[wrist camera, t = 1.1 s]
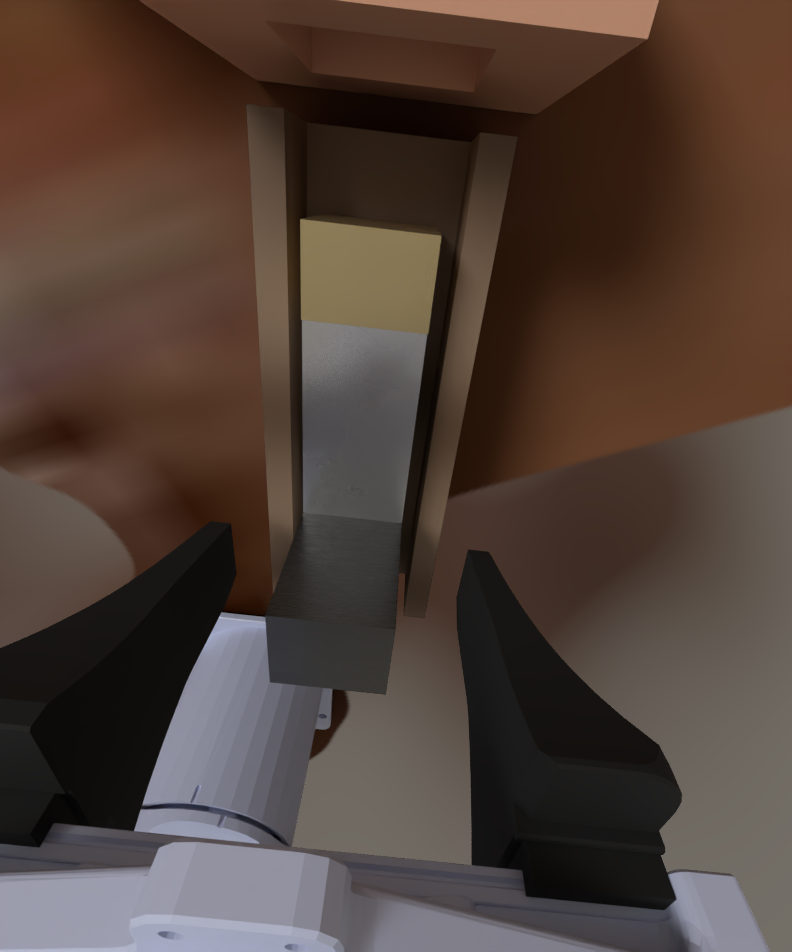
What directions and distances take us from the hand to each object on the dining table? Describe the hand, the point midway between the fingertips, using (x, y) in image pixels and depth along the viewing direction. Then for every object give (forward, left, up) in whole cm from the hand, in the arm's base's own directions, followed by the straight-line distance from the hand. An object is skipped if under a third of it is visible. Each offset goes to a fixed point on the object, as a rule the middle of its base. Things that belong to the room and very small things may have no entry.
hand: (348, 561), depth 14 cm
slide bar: (+2, 0, -4) cm, 4 cm away
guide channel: (+3, 0, -6) cm, 7 cm away
